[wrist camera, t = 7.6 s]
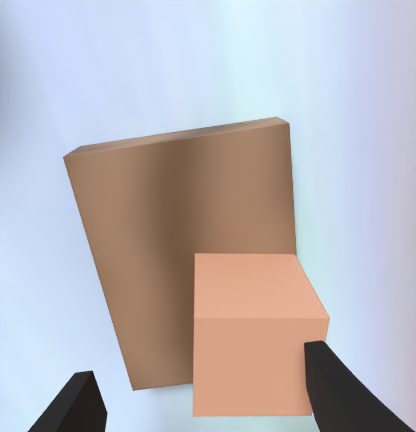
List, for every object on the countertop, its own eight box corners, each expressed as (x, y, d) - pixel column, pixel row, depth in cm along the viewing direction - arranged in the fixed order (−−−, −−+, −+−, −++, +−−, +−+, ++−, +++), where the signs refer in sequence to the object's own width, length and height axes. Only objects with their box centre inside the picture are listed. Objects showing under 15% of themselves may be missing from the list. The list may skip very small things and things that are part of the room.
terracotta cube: (294, 254, 18) (329, 318, 13) (284, 334, 20) (311, 415, 15) (194, 253, 18) (194, 317, 13) (193, 334, 19) (192, 416, 15)
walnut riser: (276, 116, 18) (289, 123, 15) (291, 338, 23) (302, 368, 21) (80, 146, 18) (63, 156, 16) (139, 358, 23) (132, 390, 21)
